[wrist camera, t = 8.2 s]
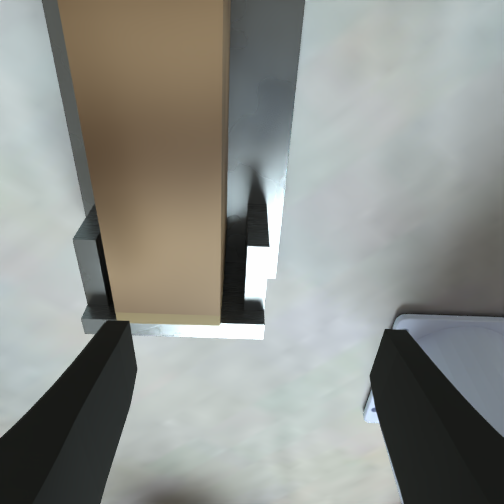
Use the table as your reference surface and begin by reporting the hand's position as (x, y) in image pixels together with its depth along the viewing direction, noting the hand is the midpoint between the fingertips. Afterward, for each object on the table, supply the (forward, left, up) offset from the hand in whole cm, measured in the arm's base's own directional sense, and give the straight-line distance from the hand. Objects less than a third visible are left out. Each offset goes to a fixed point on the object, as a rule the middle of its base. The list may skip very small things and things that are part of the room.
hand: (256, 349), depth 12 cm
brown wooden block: (+5, +3, -7) cm, 9 cm away
